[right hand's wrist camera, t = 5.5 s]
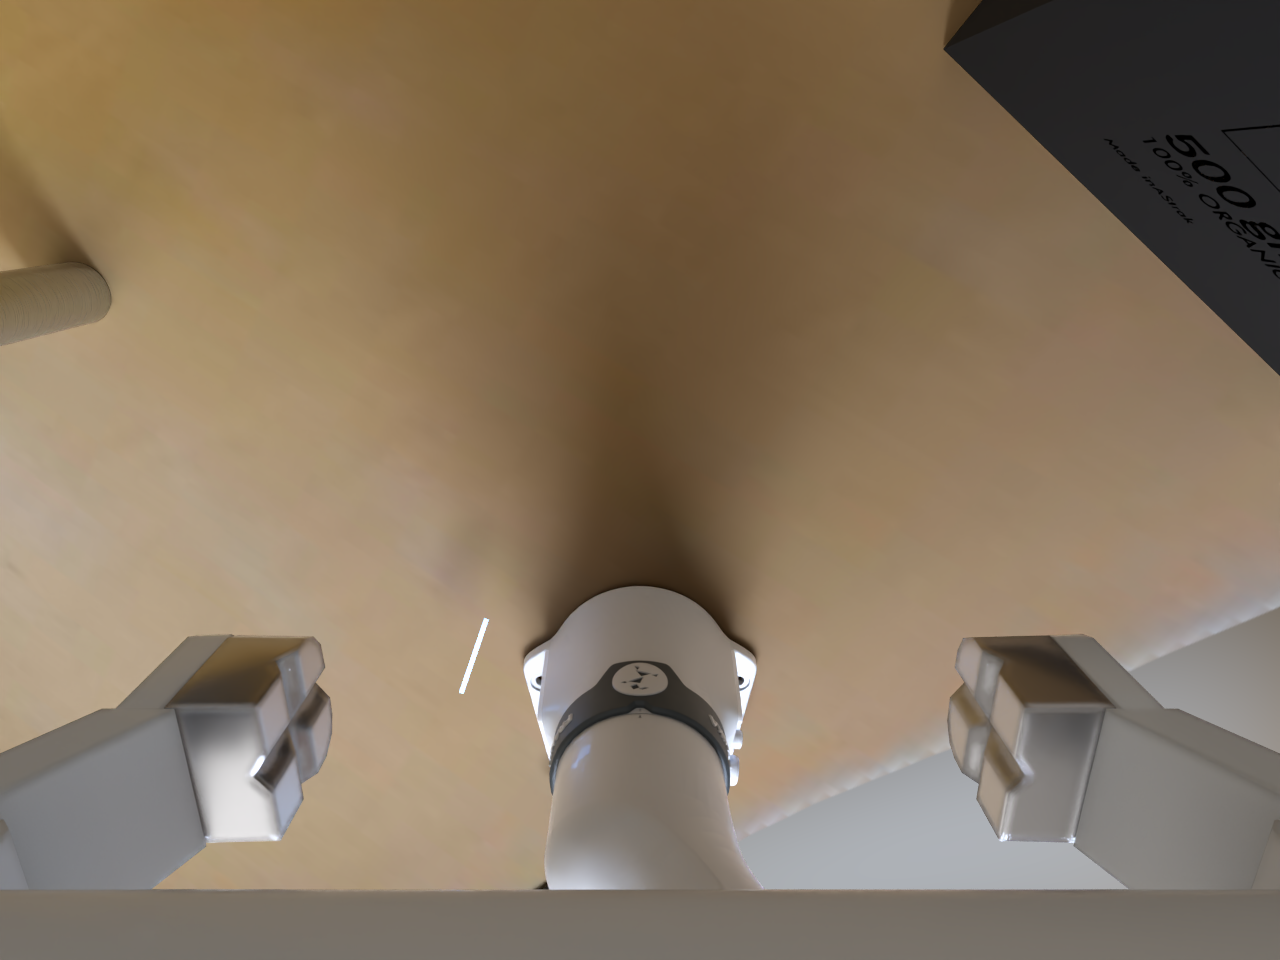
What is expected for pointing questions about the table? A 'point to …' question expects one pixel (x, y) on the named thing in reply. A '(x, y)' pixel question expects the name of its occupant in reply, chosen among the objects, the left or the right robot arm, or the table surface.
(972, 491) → the table surface
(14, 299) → the jar
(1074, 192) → the table surface
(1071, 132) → the cardboard box
